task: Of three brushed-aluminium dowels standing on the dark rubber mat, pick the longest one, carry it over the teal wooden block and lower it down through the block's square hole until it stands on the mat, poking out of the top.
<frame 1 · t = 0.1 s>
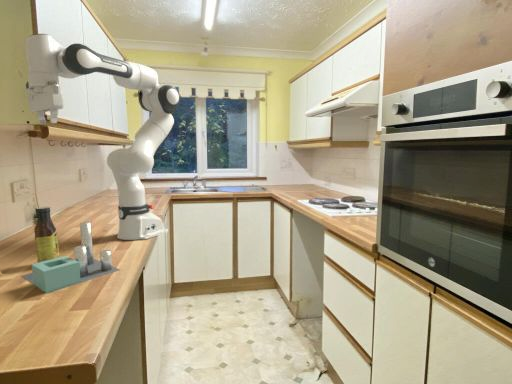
hand: (48, 123, 114), 48 cm above the worktop, fingers open, 8 cm apart
long pin: (88, 263, 108), point 1 cm above the worktop, touching mat
block: (57, 283, 93), resting on mat
sauce bottle: (49, 265, 109), on the worktop
short pin: (106, 269, 103), point 1 cm above the worktop, touching mat
mat: (71, 274, 101), on the worktop
medium pin: (82, 275, 98), point 1 cm above the worktop, touching mat
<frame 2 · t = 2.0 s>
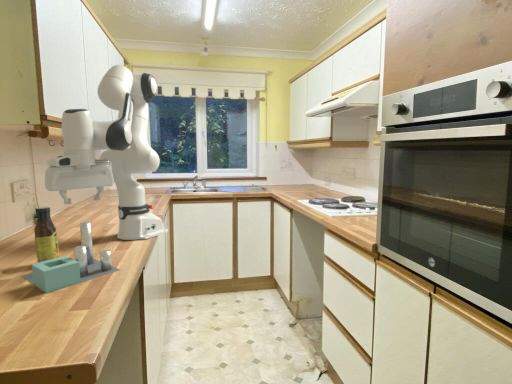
hand: (83, 202, 106), 22 cm above the worktop, fingers open, 8 cm apart
nothing on the worktop moved.
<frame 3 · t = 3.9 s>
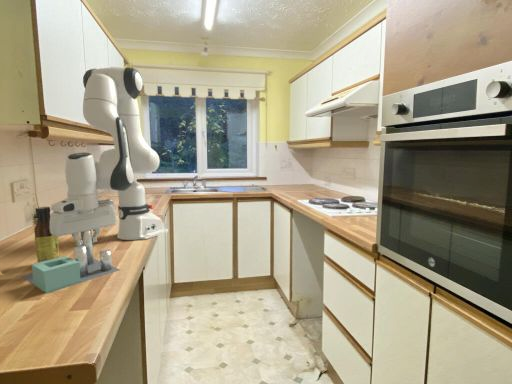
hand: (86, 243, 108), 8 cm above the worktop, fingers closed on long pin, 3 cm apart
long pin: (88, 263, 108), point 1 cm above the worktop, touching gripper, mat
everything else where it was.
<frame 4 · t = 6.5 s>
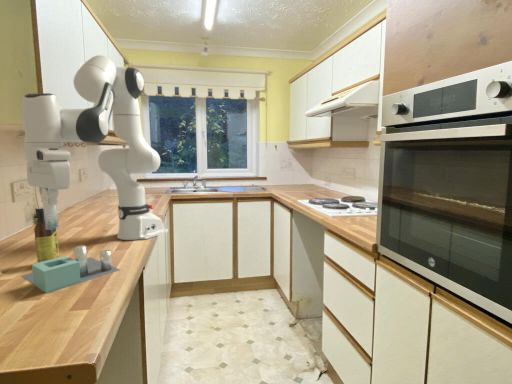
hand: (49, 203, 90), 24 cm above the worktop, fingers closed on long pin, 3 cm apart
long pin: (52, 228, 91), point 17 cm above the worktop, touching gripper
everything else where it was.
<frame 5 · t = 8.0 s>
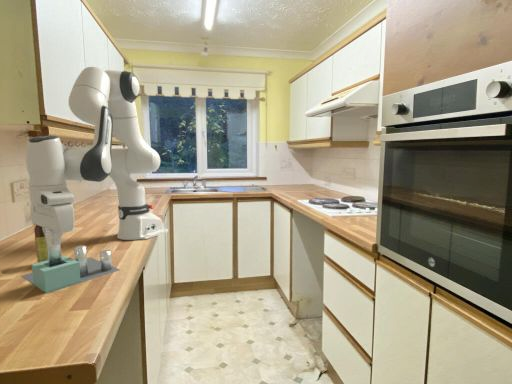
hand: (53, 243, 91), 12 cm above the worktop, fingers closed on long pin, 3 cm apart
long pin: (55, 267, 92), point 5 cm above the worktop, touching gripper
everything else where it was.
when the fingers open (9 cm above the worktop, at t = 9.0 s): long pin stays where it is, resting on mat.
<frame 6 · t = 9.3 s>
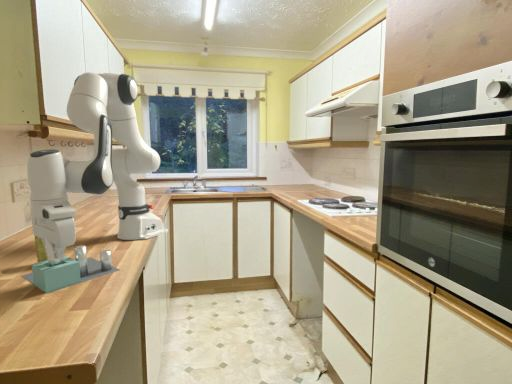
hand: (54, 256, 92), 9 cm above the worktop, fingers open, 6 cm apart
long pin: (57, 282, 93), point 1 cm above the worktop, touching mat
everything else where it was.
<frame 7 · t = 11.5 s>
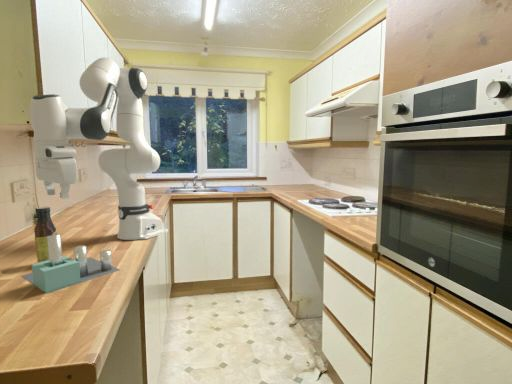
hand: (57, 196, 98), 25 cm above the worktop, fingers open, 8 cm apart
nothing on the worktop moved.
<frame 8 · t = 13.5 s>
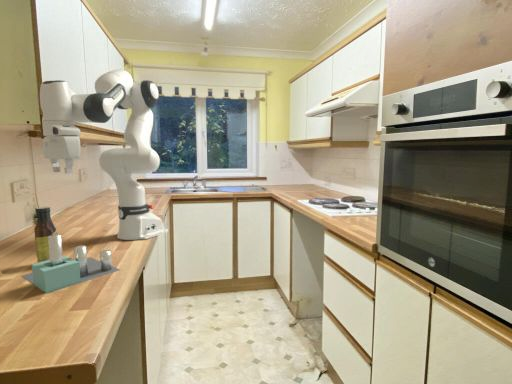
hand: (62, 172, 108), 31 cm above the worktop, fingers open, 8 cm apart
nothing on the worktop moved.
at the end: long pin 0.1 cm off-centre on the block, point 0.0 cm above the block's base; long pin tilted 2°; the gripper is holding nothing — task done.
